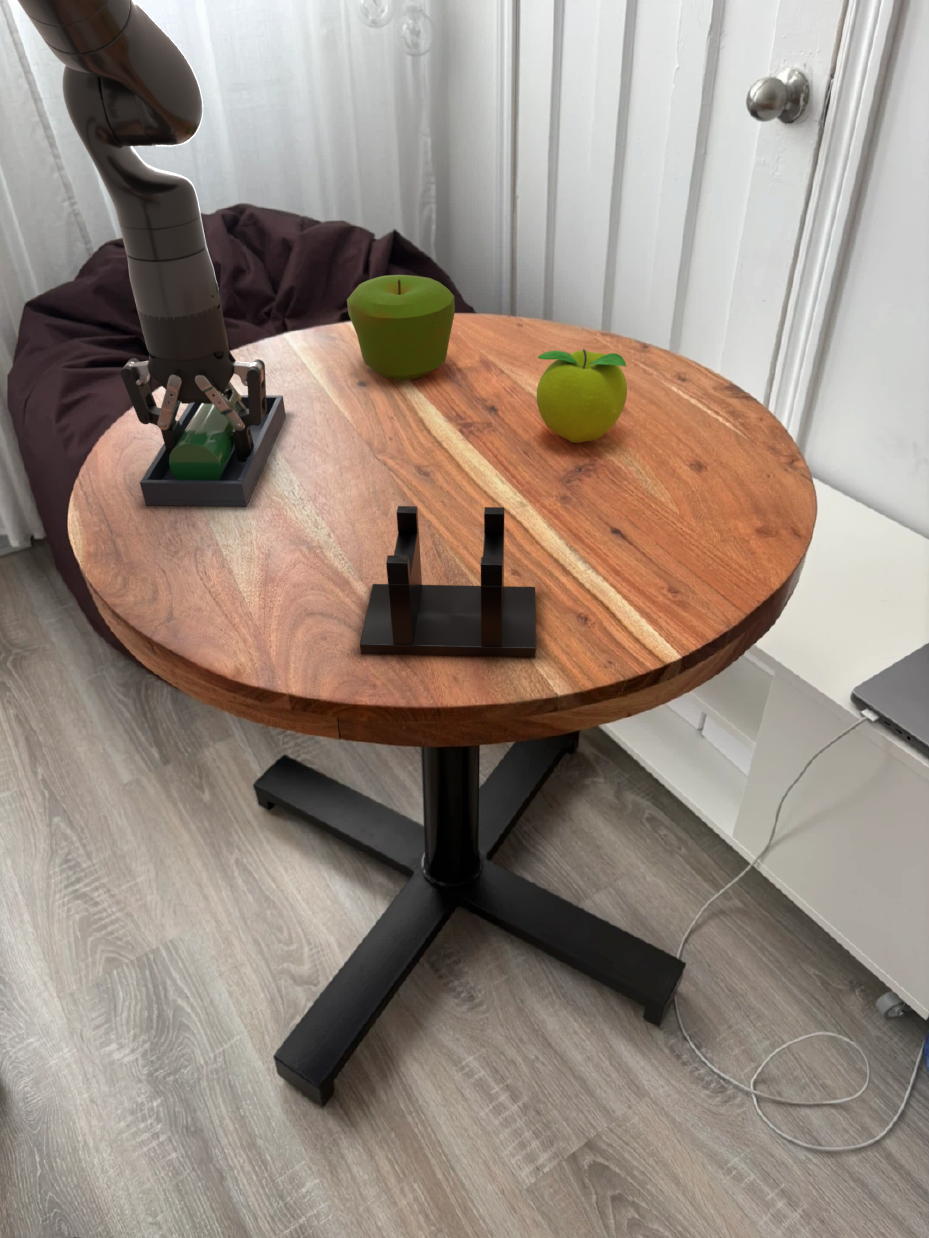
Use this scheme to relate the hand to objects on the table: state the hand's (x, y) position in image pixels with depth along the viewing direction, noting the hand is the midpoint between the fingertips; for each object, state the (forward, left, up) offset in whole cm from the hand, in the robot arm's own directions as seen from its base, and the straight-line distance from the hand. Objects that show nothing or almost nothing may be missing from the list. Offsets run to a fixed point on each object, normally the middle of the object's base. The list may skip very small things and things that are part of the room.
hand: (212, 457), depth 96 cm
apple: (+17, +25, -2) cm, 31 cm away
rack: (+26, -25, -1) cm, 36 cm away
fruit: (+38, +8, -2) cm, 39 cm away
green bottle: (0, +2, -1) cm, 3 cm away
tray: (0, +2, -1) cm, 3 cm away
